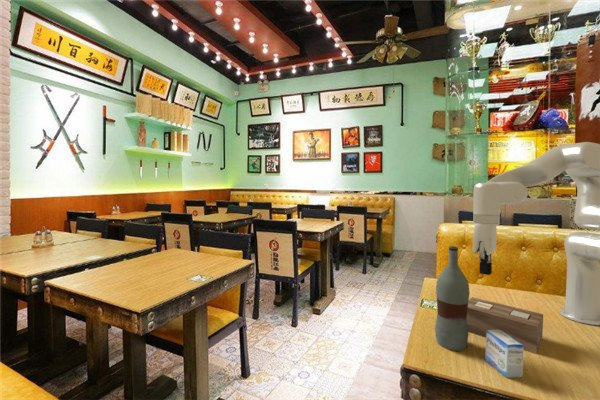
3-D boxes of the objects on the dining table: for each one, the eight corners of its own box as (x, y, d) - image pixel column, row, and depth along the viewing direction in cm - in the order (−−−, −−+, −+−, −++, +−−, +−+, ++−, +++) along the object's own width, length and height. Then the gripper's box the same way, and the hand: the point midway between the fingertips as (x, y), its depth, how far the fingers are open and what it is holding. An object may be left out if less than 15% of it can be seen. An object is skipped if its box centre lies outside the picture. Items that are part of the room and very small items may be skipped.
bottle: (469, 355, 84) (472, 251, 82) (434, 347, 88) (436, 248, 86) (466, 339, 92) (469, 245, 91) (434, 333, 96) (436, 243, 95)
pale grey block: (512, 334, 95) (512, 310, 95) (529, 339, 92) (530, 314, 92) (509, 339, 92) (509, 314, 92) (526, 344, 89) (527, 318, 89)
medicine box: (484, 360, 82) (485, 329, 81) (499, 359, 82) (500, 329, 81) (506, 378, 74) (507, 344, 73) (523, 377, 74) (524, 344, 74)
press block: (472, 318, 107) (472, 297, 107) (542, 338, 93) (543, 314, 92) (460, 329, 99) (461, 306, 99) (536, 353, 84) (537, 326, 84)
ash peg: (477, 324, 103) (478, 301, 102) (492, 328, 99) (492, 305, 99) (473, 328, 100) (474, 305, 99) (488, 332, 96) (489, 309, 96)
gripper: (480, 217, 106) (479, 267, 107) (466, 220, 95) (465, 276, 96) (504, 218, 100) (504, 271, 101) (493, 222, 90) (492, 281, 91)
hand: (485, 273), depth 99 cm, fingers closed
